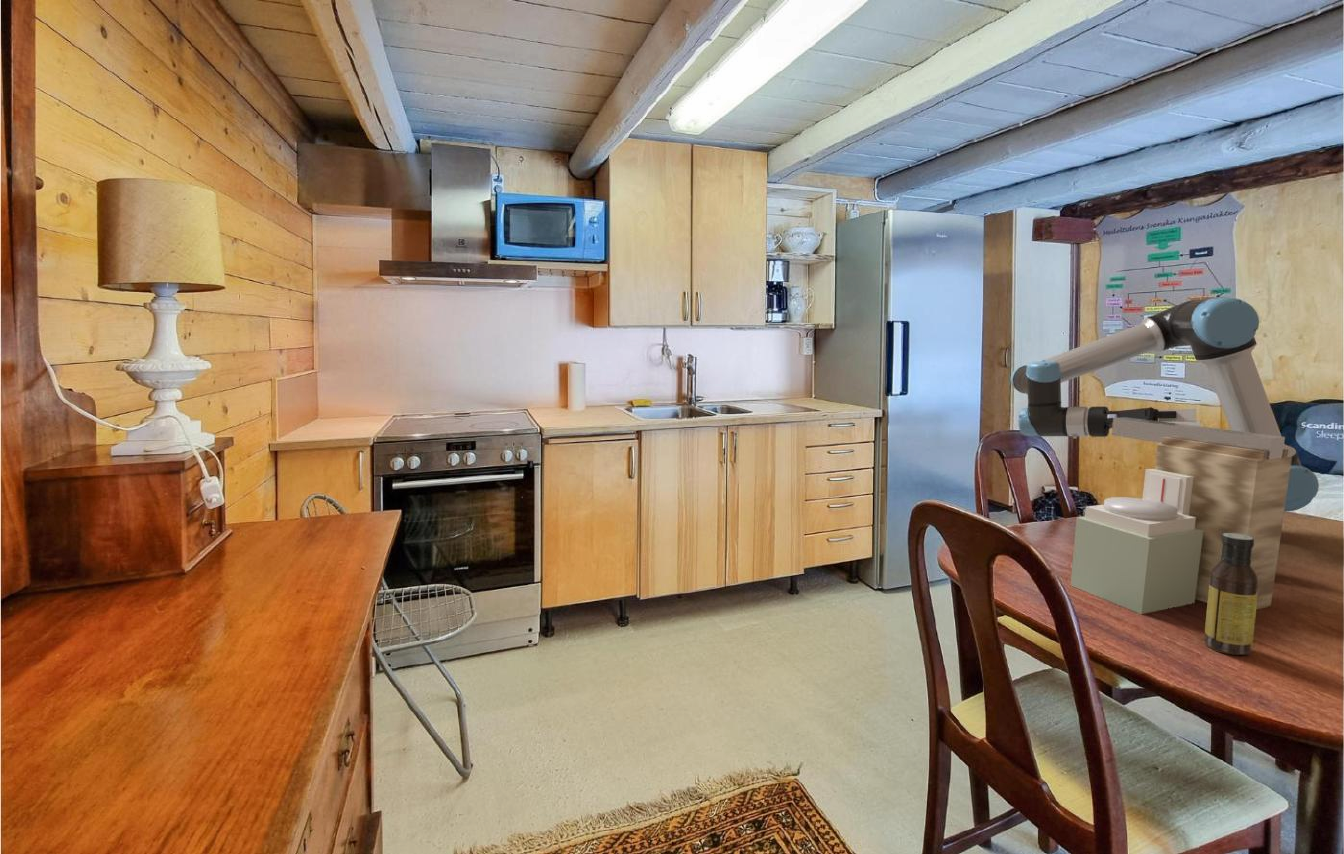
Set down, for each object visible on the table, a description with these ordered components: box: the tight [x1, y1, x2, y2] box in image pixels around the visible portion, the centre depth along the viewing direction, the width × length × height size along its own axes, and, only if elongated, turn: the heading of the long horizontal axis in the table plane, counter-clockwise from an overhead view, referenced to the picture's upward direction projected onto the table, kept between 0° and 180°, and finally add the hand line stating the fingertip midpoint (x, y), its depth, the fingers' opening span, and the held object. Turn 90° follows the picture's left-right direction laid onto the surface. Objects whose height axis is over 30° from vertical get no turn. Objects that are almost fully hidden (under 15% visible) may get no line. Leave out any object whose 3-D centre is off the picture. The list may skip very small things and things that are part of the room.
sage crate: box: [1070, 516, 1203, 615], centre depth 132 cm, size 15×15×15 cm
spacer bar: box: [1111, 417, 1286, 459], centre depth 134 cm, size 30×4×4 cm, turn 20°
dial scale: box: [1084, 468, 1196, 537], centre depth 130 cm, size 13×15×10 cm
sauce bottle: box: [1204, 533, 1258, 656], centre depth 109 cm, size 6×6×20 cm
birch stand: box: [1154, 437, 1292, 611], centre depth 131 cm, size 18×10×32 cm, turn 19°
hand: (1198, 421), depth 146 cm, fingers open, 13 cm apart
